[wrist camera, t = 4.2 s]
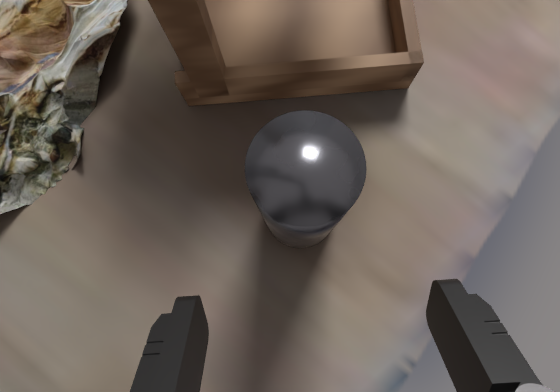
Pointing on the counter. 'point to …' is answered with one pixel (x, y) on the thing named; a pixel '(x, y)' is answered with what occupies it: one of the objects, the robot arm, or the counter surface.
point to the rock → (48, 87)
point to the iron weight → (304, 175)
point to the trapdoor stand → (289, 47)
